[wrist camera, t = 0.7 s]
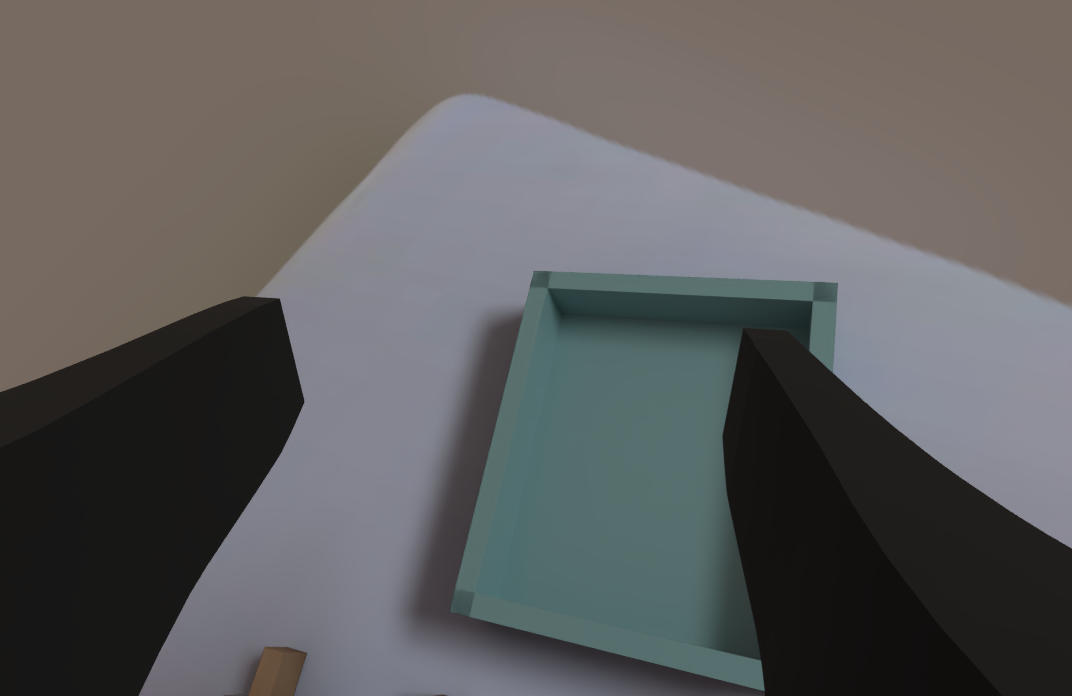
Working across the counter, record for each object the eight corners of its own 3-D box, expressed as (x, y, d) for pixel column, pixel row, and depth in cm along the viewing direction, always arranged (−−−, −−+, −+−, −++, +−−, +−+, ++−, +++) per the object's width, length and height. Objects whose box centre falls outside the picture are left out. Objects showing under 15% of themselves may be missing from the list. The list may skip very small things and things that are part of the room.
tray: (807, 698, 22) (814, 703, 19) (480, 616, 26) (449, 611, 23) (830, 319, 27) (837, 282, 24) (552, 303, 31) (533, 270, 28)
